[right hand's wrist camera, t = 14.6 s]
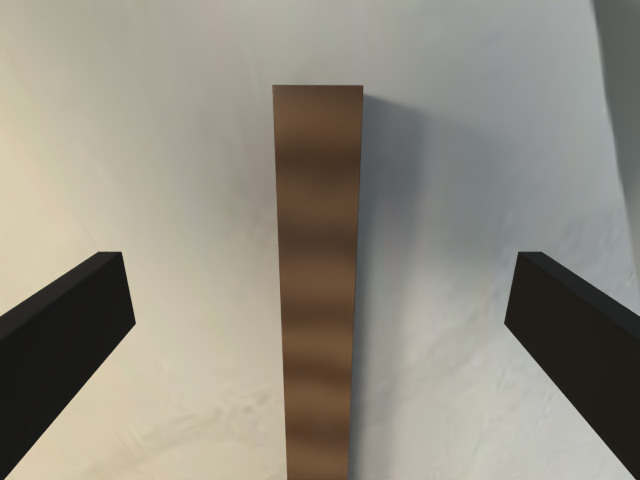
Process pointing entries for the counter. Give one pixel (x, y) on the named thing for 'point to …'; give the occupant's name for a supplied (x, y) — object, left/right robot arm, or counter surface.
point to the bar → (317, 269)
